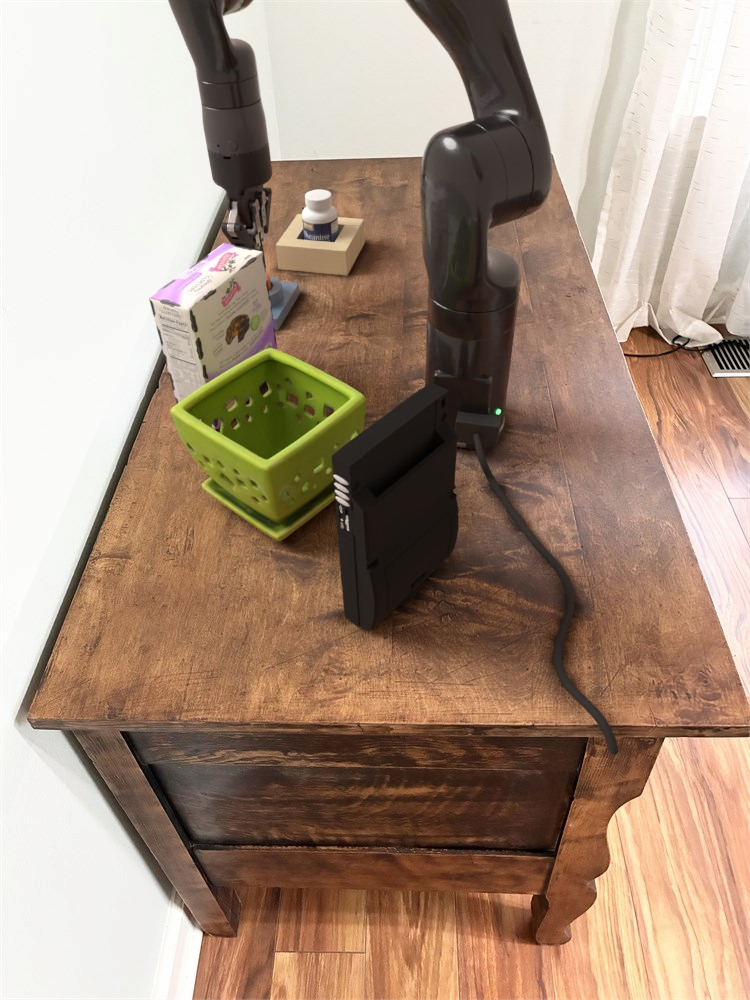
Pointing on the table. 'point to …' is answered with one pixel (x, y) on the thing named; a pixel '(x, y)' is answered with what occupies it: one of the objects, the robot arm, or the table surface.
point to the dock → (321, 248)
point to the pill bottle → (320, 217)
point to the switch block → (282, 299)
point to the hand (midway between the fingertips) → (257, 271)
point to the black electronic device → (395, 505)
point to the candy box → (214, 318)
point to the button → (268, 281)
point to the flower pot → (270, 438)
